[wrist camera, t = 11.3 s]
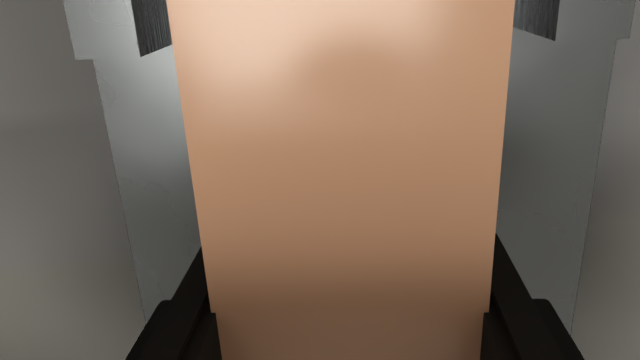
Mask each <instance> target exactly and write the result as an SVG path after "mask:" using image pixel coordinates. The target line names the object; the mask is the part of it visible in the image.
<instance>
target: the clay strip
mask: <svg viewBox="0 0 640 360" xmlns="http://www.w3.org/2000/svg"><path fill="white" fill-rule="evenodd" d="M166 3H167V9H168V16H169V23H170V30H171V37H172V44H173V51H174V58H175V65H176V72H177V79H178V86H179V93H180V100H181V107H182V114H183V121H184V128H185V135H186V142H187V149H188V156H189V163H190V170H191V176H192V183H193V190H194V197H195V204H196V211H197V218H198V225H199V232H200V239H201V246H202V253H203V260H204V267H205V274H206V281H207V288H208V295H209V302H210V309H211V313H216V319H217V326H218V334H219V341H220V348H221V355H222V360H480V352H481V340H482V327H483V315H484V312H489V304H490V292H491V280H492V268H493V256H494V244H495V232H496V221H497V209H498V197H499V185H500V173H501V161H502V149H503V137H504V126H505V114H506V102H507V90H508V78H509V66H510V54H511V43H512V31H513V19H514V7H515V0H166Z"/></svg>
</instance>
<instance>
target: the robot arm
mask: <svg viewBox="0 0 640 360" xmlns="http://www.w3.org/2000/svg"><path fill="white" fill-rule="evenodd" d="M125 360H222V355H221V348H220V341H219V334H218V326H217V319H216V313H211V309H210V302H209V295H208V288H207V281H206V274H205V267H204V260H203V253H202V246H201V247H200V249H199V251H198V253H197V254H196V256H195V258H194V260H193V262H192V263H191V265H190V267H189V269H188V271H187V272H186V274H185V276H184V278H183V279H182V281H181V283H180V285H179V287H178V288H177V290H176V292H175V294H174V296H173V297H172V299H171V300H163V301H161V302H160V303H159V304H158V305H157V307H156V309H155V310H154V312H153V314H152V315H151V317H150V319H149V321H148V322H147V324H146V326H145V327H144V329H143V331H142V332H141V334H140V336H139V337H138V339H137V341H136V342H135V344H134V346H133V348H132V349H131V351H130V353H129V354H128V356H127V358H126V359H125ZM480 360H584V358H583V357H582V355H581V353H580V351H579V350H578V348H577V346H576V345H575V343H574V341H573V340H572V338H571V336H570V335H569V333H568V331H567V329H566V328H565V326H564V324H563V323H562V321H561V319H560V318H559V316H558V314H557V313H556V311H555V309H554V308H553V306H552V304H551V303H550V302H549V301H548V300H547V299H532V298H531V296H530V294H529V292H528V290H527V288H526V287H525V285H524V283H523V281H522V279H521V277H520V275H519V274H518V272H517V270H516V268H515V266H514V264H513V263H512V261H511V259H510V257H509V255H508V253H507V251H506V250H505V248H504V246H503V244H502V242H501V240H500V239H499V237H498V235H497V233H496V232H495V244H494V256H493V268H492V280H491V292H490V304H489V312H484V315H483V327H482V340H481V352H480Z"/></svg>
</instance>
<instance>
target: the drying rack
mask: <svg viewBox="0 0 640 360" xmlns="http://www.w3.org/2000/svg"><path fill="white" fill-rule="evenodd" d="M635 1H636V0H515V7H514V19H513V31H512V43H511V54H510V66H509V78H508V90H507V102H506V114H505V126H504V137H503V149H502V161H501V173H500V185H499V197H498V209H497V221H496V233H497V235H498V237H499V239H500V240H501V242H502V244H503V246H504V248H505V250H506V251H507V253H508V255H509V257H510V259H511V261H512V263H513V264H514V266H515V268H516V270H517V272H518V274H519V275H520V277H521V279H522V281H523V283H524V285H525V287H526V288H527V290H528V292H529V294H530V296H531V298H532V299H547V300H548V301H549V302H550V303H551V304H552V306H553V308H554V309H555V311H556V313H557V314H558V316H559V318H560V319H561V321H562V323H563V324H564V326H565V328H566V329H567V331H568V333H569V335H571V328H572V322H573V316H574V309H575V303H576V296H577V290H578V284H579V277H580V271H581V264H582V258H583V252H584V245H585V239H586V232H587V226H588V219H589V213H590V207H591V200H592V194H593V187H594V181H595V175H596V168H597V162H598V155H599V149H600V143H601V136H602V130H603V123H604V117H605V111H606V104H607V98H608V91H609V85H610V78H611V72H612V66H613V59H614V53H615V46H616V40H617V39H627V38H629V37H630V31H631V25H632V19H633V13H634V7H635ZM63 3H64V8H65V12H66V17H67V22H68V26H69V31H70V36H71V41H72V45H73V50H74V55H75V59H76V60H82V59H93V62H94V67H95V72H96V77H97V82H98V87H99V92H100V97H101V102H102V107H103V112H104V117H105V122H106V127H107V132H108V137H109V142H110V147H111V152H112V157H113V162H114V167H115V172H116V177H117V182H118V187H119V192H120V197H121V202H122V207H123V212H124V217H125V222H126V227H127V231H128V236H129V241H130V246H131V251H132V256H133V261H134V266H135V271H136V276H137V281H138V286H139V291H140V296H141V301H142V306H143V311H144V316H145V321H146V324H147V322H148V321H149V319H150V317H151V315H152V314H153V312H154V310H155V309H156V307H157V305H158V304H159V303H160V302H161V301H163V300H171V299H172V297H173V296H174V294H175V292H176V290H177V288H178V287H179V285H180V283H181V281H182V279H183V278H184V276H185V274H186V272H187V271H188V269H189V267H190V265H191V263H192V262H193V260H194V258H195V256H196V254H197V253H198V251H199V249H200V247H201V239H200V232H199V225H198V218H197V211H196V204H195V197H194V190H193V183H192V176H191V170H190V163H189V156H188V149H187V142H186V135H185V128H184V121H183V114H182V107H181V100H180V93H179V86H178V79H177V72H176V65H175V58H174V51H173V44H172V37H171V30H170V23H169V16H168V9H167V3H166V0H63Z"/></svg>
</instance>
